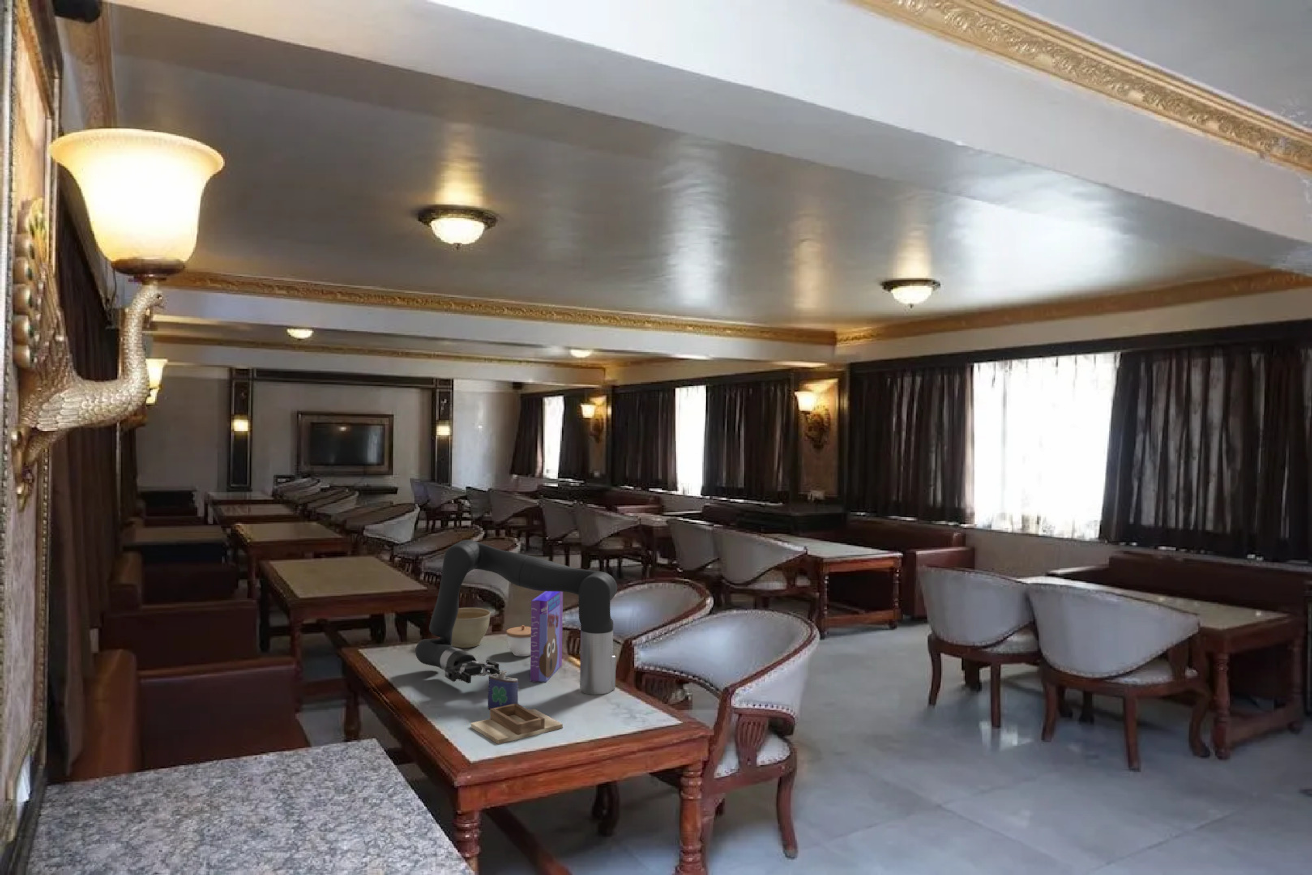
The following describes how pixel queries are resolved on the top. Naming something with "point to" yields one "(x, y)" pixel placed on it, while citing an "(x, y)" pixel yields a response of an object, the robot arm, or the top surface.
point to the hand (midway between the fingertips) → (484, 676)
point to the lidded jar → (519, 640)
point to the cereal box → (546, 635)
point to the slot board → (514, 723)
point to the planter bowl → (470, 627)
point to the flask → (502, 690)
